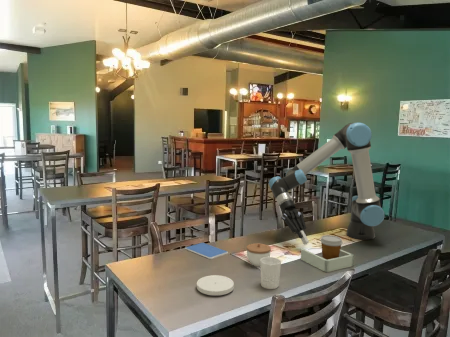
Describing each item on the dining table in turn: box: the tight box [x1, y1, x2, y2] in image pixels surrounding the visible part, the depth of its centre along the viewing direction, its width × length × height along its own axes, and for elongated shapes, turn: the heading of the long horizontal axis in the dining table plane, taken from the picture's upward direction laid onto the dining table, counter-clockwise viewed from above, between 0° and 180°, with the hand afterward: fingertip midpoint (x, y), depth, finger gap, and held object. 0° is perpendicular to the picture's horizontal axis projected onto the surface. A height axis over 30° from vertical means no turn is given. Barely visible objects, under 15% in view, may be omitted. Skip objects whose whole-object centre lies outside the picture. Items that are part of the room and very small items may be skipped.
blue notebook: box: [184, 242, 229, 260], centre depth 175 cm, size 19×13×1 cm, turn 45°
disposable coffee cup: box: [319, 234, 343, 260], centre depth 160 cm, size 10×10×12 cm
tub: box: [300, 248, 355, 273], centre depth 163 cm, size 16×16×5 cm
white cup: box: [259, 256, 282, 290], centre depth 138 cm, size 8×8×10 cm
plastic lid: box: [196, 274, 235, 297], centre depth 135 cm, size 14×14×2 cm
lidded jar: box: [246, 242, 272, 267], centre depth 159 cm, size 11×11×9 cm
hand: (306, 243), depth 174 cm, fingers closed
